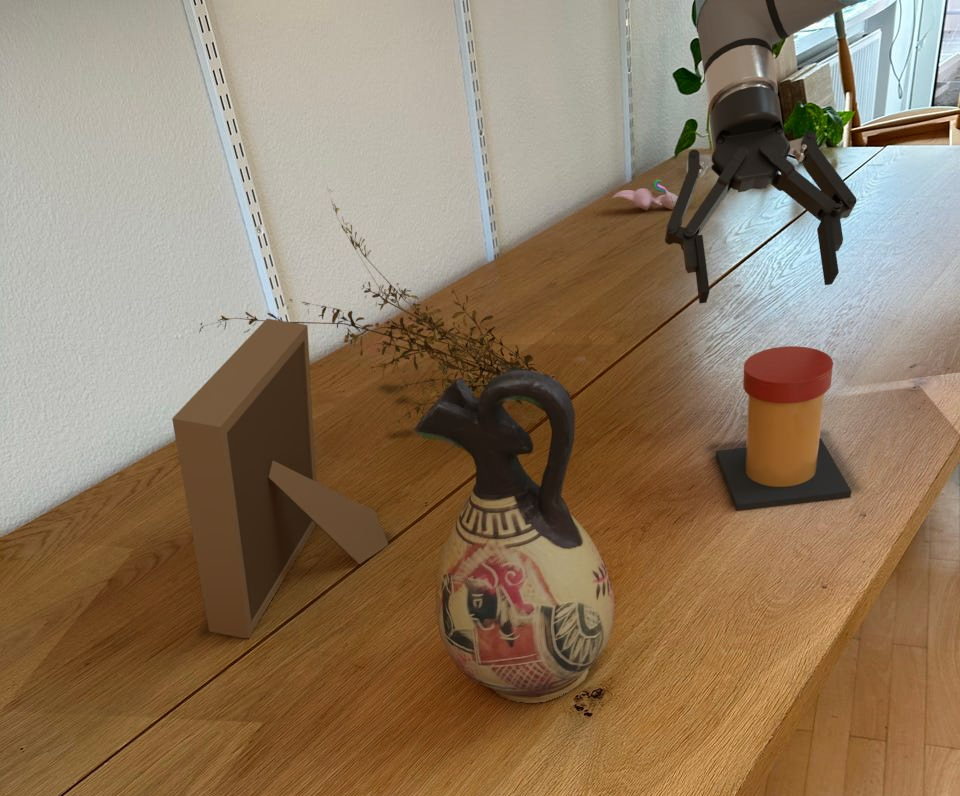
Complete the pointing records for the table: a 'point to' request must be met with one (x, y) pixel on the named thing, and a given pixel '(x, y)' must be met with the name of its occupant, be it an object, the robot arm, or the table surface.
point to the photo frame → (259, 478)
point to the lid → (787, 374)
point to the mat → (756, 495)
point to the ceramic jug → (517, 549)
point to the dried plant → (426, 341)
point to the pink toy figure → (649, 197)
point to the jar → (782, 441)
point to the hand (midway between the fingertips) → (767, 288)
